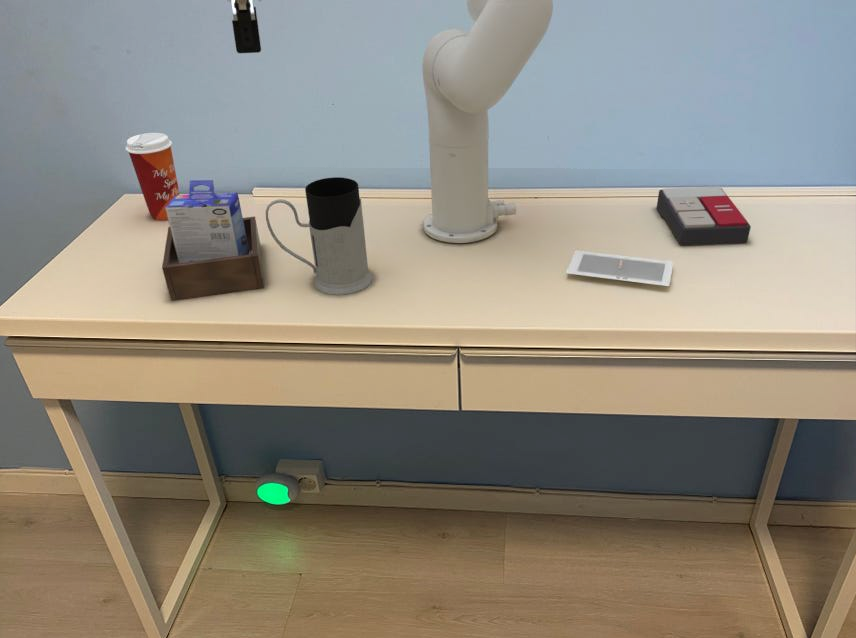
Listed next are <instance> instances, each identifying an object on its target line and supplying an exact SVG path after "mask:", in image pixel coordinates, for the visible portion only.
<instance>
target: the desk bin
mask: <svg viewBox="0 0 856 638" xmlns="http://www.w3.org/2000/svg"><path fill="white" fill-rule="evenodd" d="M243 222H244V227H245V232H246V237H247V243H248V248H249V251H251V253H250V254H247V255H240V256H232V257H224V258H216V259H209V260H201V261H193V262H186V263H179V261H178V257H177V253H176V249H175V245H174V241H173V237H172V233H171V229H170V226H168V227H167V234H166V240H165V247H164V253H163V259H162V260H163V261H162V266H161V269H162V273H163V277H164V280H165V284H166V287H167V291H168V294H169V298H170V301H172V302H173V301H179V300H187V299H192V298H199V297H200V298H201V297H208V296H214V295H221V294H229V293H236V292H243V291H250V290H251V291H252V290H258V289H265V282H264V281H265V279H264V269H263V257H262V256H263V255H262V246H261V240H260V235H259V229H258V224H257V219H256V216H248V217H247V216H246V217H243Z"/></svg>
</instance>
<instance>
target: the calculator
mask: <svg viewBox="0 0 856 638" xmlns="http://www.w3.org/2000/svg"><path fill="white" fill-rule="evenodd" d="M656 210H657V213H658V214H659V215H660V217H661V218H664V220H665V222H666V224H667V225H668V227H669V228H670V230H671V232H672V233H673V235H674V237H675V239H676V241H677V243H678V244H679V246H684V247H685V246H707V245H729V244H730V245H732V244H747V242H748V239H749V235H750V232H751V229H752V226H751V224H750V223H749V222H748V221H747V219H746V217H745V216H744V215H743V214H742V212H741V211H740V210H739V208H738V207H737V206H736V205H735V203H734V202H733V201H732V199H731V198H730V197H729V196H728V194H727V193H726V192H725V191H724V190H723V188H722V187H721V186H693V187H671V188H670V187H669V188H662V189H659V191H658V196H657V202H656Z"/></svg>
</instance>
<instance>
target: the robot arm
mask: <svg viewBox="0 0 856 638" xmlns="http://www.w3.org/2000/svg"><path fill="white" fill-rule="evenodd" d="M258 1H259V2H262V1H263V0H258ZM227 2H229V3H231V11H232V17H233V18H232V20H231V23H232V30H233V37H234V43H235V51H236V53H238V54H256V53H257V54H259V53H261V51H262V45H261V38H260V30H259V22H258V16H257V15H258V14H257V8H256V6H254V0H227ZM466 5H467V11H468V14H469V16H470V18H471V19H472V21H473V22H474V24H473V25H472V27H471V28H470V30H469V31H467V30H465V29H461V28H448V29H445V30H442V31H440V32H438V33H437V34H436V35H435V36H433V37H432V38H431V39H430V41H429V42H428V44H427V45H426V48H425V49H424V52H423V57H422V64H421V65H422V69H421V70H422V80H423V88H424V95H425V100H426V107H427V108H426V109H427V122H428V123H427V125H428V148H429V170H430V171H429V172H430V173H429V174H430V196H431V213H430V214H429V215H428V216H427V217H426V218H425V219H424V221H423V230H424V233H425V234H426V236H428V237H429V238H432V239H433V240H437V241H439V242H444V243H450V244H467V243H475V242H478V241H482V240H485V239H487V238H489V237H491V236H492V235H494V233H496V231H497V230H498V220H497V219H499V217H500V216H501V217H502V216H512V215H516V214H517V206H516V203H515V202H511V203H505V200H504V199H498V200H495V201H491V200H490V199H489V136H490V135H489V131H490V130H489V110H490V109H491V108H493V107H494V106H495V105H497V104H498V103H499V102H500V101H501V100H502V99H503V97H505V95H506V94H507V92H508V91H509V90H510V88H511V87H512V85H513V83H514V82H515V81H516V79H517V78H518V76H519V75H520V73H521V72H522V71H523V69H524V67H525V66H526V64H527V63H528V61H529V60H530V58H531V57H532V56H533V54H534V52H535V51H536V49H537V48H538V46H539V45H540V43H541V41H542V40H543V39H544V37H545V35H546V33H547V31H548V29H549V26H550V24H551V20H552V17H553V10H554V0H466Z"/></svg>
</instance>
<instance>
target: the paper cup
mask: <svg viewBox="0 0 856 638" xmlns="http://www.w3.org/2000/svg"><path fill="white" fill-rule="evenodd" d="M172 145H173V142H172V140H170V139H169V136H168V135H167V134H165V133H162V132H146V133H140V134H136V135H134V136H130V137H129V138H127V140H126V146H125V151H126V152H127V153H128V154H129V157H130V161H131V163H132V166H133V169H134V173H135V174H136V178H137V181H138V184H139V188H140V190H141V193H142V195H143V198H144V201H145V204H146V208H147V210H148V213H149V215H150V217H151V219H153V220H155V221H168V217H167V213H166V209H165V207H166V206H167V205H168V204H169V203H170V201H171V200H172V199H173V198H174V197H175V196H176V195H181V194H180V190H179V184H178V179H177V172H176V168H175V162H174V157H173V151H172Z"/></svg>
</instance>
